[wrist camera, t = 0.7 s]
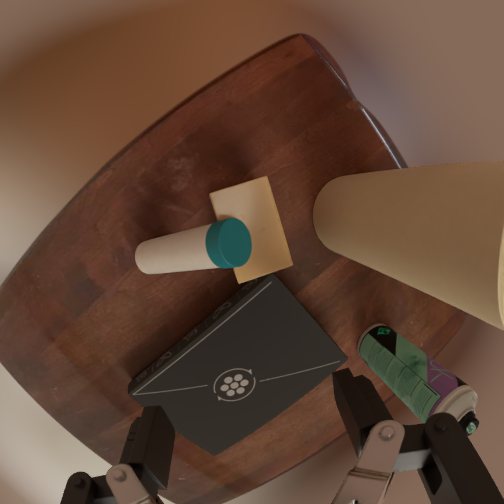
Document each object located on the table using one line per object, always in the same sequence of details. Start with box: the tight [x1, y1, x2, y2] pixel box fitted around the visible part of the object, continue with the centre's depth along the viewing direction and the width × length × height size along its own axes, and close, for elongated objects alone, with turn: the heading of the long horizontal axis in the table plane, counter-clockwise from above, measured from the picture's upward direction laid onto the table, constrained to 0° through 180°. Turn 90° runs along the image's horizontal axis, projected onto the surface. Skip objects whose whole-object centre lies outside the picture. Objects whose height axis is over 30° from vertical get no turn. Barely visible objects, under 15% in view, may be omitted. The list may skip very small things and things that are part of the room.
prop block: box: [209, 176, 293, 284], centre depth 28 cm, size 5×8×6 cm, turn 17°
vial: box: [135, 218, 252, 274], centre depth 26 cm, size 11×4×11 cm, turn 107°
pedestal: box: [313, 161, 504, 331], centre depth 21 cm, size 9×9×24 cm
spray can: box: [357, 323, 479, 436], centre depth 27 cm, size 6×6×20 cm
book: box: [128, 272, 348, 456], centre depth 33 cm, size 22×15×3 cm
